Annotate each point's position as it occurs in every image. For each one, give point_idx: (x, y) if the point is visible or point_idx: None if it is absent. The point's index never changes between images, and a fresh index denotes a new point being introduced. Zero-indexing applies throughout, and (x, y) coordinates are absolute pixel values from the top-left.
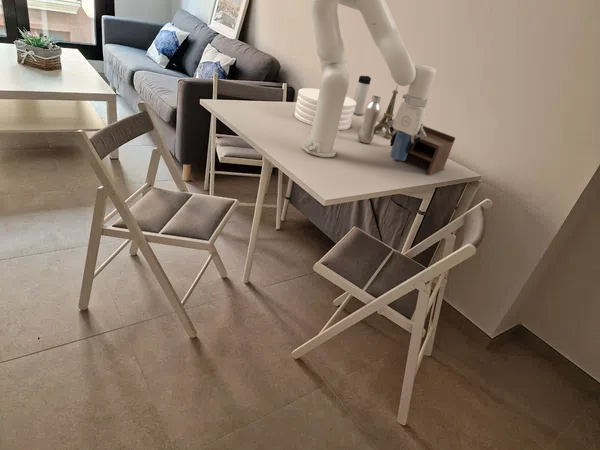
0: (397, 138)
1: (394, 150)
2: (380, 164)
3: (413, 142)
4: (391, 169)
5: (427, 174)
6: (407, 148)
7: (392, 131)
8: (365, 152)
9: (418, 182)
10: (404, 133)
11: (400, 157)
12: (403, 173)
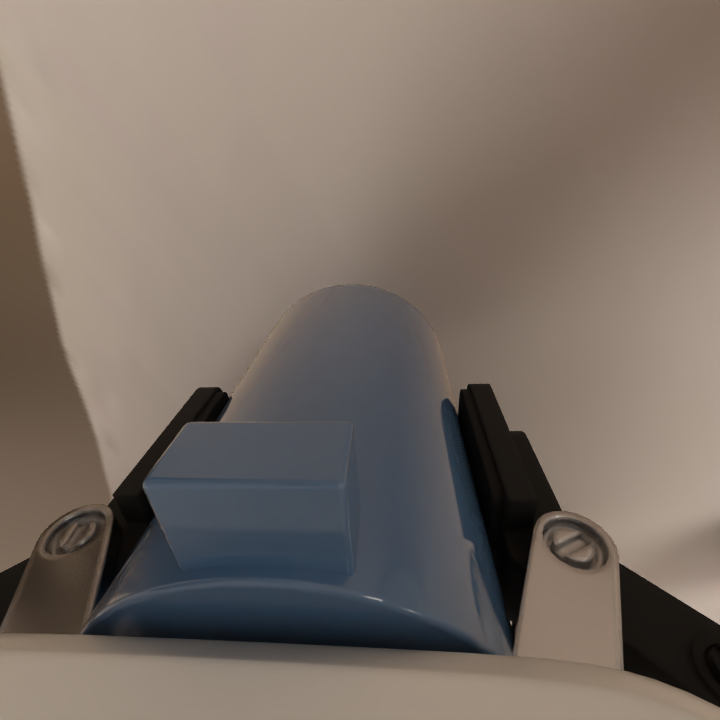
0: (372, 439)
1: (367, 321)
2: (472, 259)
3: (73, 526)
4: (353, 262)
5: None
6: (202, 420)
7: (631, 603)
8: (699, 370)
9: (86, 255)
10: (219, 629)
11: (281, 322)
12: (257, 296)
